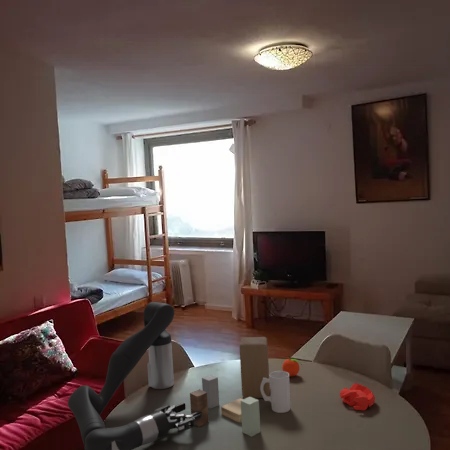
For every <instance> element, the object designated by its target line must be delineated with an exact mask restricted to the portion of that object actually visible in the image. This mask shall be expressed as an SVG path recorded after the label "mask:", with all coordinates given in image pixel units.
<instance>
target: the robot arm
mask: <svg viewBox="0 0 450 450" xmlns="http://www.w3.org/2000/svg"><path fill="white" fill-rule="evenodd" d="M174 317H175V308H174V307H173V306H172V305H171V304H168V303H164V302H159V301H158V302H157V301H150V302H149V303H147V305H145V308H144V310H143V326H144V327H142V329H140V330H139V331H137V332H135V333H134V334H132V335H131V336H128V337H127V338H126V339H124V340H123V341H122V342H121V343H120V345H118V346H117V348H116V349H115V351H113V353H112V354H111V356H110V358H109V362H108V367H107V373H106V378H105V381H104V384H103V387H102V388H101V390H100V391H99V393H97V392H96V391H95V389H93V388H92V387H91V386H89V385H81V386H79V387H78V388H76V389H75V390H74V391H73V392H72V393H71V394H70V396H69V398H68V400H67V407H68V408H69V410H70V411H71V413H73V416H74V417H75V420H76V422H77V425H78V428H79V431H80V436H81V440H82V442H83V447H84V449H83V450H113V446H112V445H113V442H115V444H116V447H117V449H118V450H135V449H137V448H139V447H141V446H146V445H148V444H150V443H153V442H154V441H157V440H160V439H161V438H162V439H163V438H164V437H166V436H167V435H169V432H170V431H171V430H173V429H174V430H175V429H177V432H178V433H182V432H185V431H188V430H189V429H193V428H195V427H196V425H195V421H196V420H199V419H201V418H202V412H201V411H198V412H196V413H193V414H191V413H190V414H185V413H180V412H183V411H185V410H186V403H185V402H181V403H180V404H177V405H170V404H165V405H163V406H161V407H159V408H156V409H154V412H151V413H148V414H146V415H143V416H141V417H139V418H137V419H135V420H133V421H131V422H127V423H126V424H123V425H120V426H114V427H106V426H105V423H104V420H103V419H102V417H101V414H102V413H103V411H104V410H105V408H107V405H108V404H109V403H110V401H111V399H112V398H113V396H114V394H115V393H116V391H117V390H118V389H119V387H120V386H121V385H122V384H123V382H124V380H125V379H126V378H127V376H128V375H129V374H130V373H131V372H132V371H133V370H134V368H135V367H136V366H137V365H138V363H139V362H140V360H141V359H142V358H143V356H144V355H145V354H146V352H147V351H148V362H147V363H146V364H147V365H146V366H147V379H148V388H152V389H154V390H163V389H164V390H165V389H168V388H171V387H173V386H174V384H175V378H174V364H173V363H174V361H173V347H172V335H171V334H170V333H169V332H168V331H167V329H168V327H169V326H170V325H171V323H172V322H173V320H174ZM165 410H166V411H165Z"/></svg>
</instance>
